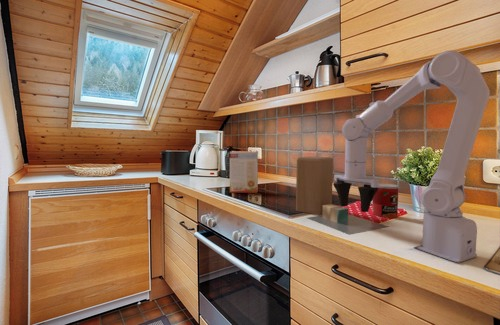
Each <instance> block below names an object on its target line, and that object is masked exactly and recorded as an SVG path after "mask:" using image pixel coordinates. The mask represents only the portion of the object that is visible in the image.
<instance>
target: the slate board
mask: <svg viewBox="0 0 500 325" xmlns="http://www.w3.org/2000/svg"><path fill="white" fill-rule="evenodd" d="M306 219H307V220H311V221H313V222H316V223H318V224H320V225H323V226H326V227H329V228H331V229H333V230H336V231H339V232H341V233H343V234H346V235H354V234H359V233H364V232H365V233H366V232H370V231H375V230H381V229H385V228H390V226H388V225H384V224H382V223H379V222H376V221H371V220H369V219H366V218H362V217H360V216H359V217H358V216H356V215H353V214H349V213H348V222H343V223H336V222H333V221H331V220H328V219H325V218H322V215H315V216H310V217H306Z"/></svg>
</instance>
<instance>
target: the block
mask: <svg viewBox="0 0 500 325" xmlns="http://www.w3.org/2000/svg"><path fill="white" fill-rule="evenodd" d="M333 168H334V159H333V157H331V156H329V157H327V156H301V157H300V156H299V157H297V159H296V186H295V187H296V189H295V193H296V194H295V211H296V212H299V213H305V214H312V215H315V216H322V212H323V205H330V204H333V181H334V180H333V179H334V177H333V175H334V173H333V172H334V169H333Z"/></svg>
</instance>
